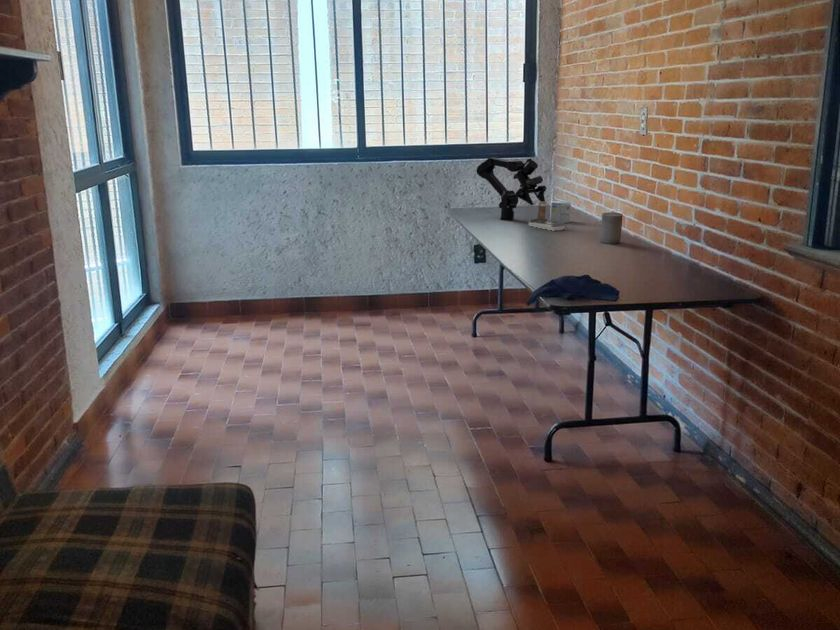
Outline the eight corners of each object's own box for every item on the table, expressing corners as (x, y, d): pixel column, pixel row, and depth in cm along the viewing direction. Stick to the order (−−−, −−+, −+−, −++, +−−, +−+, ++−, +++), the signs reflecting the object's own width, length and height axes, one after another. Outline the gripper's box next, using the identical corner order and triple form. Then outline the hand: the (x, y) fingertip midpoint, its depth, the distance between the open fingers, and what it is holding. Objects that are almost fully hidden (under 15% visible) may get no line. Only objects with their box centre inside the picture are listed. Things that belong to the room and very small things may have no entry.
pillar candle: (620, 241, 368) (623, 210, 363) (620, 244, 358) (623, 213, 354) (599, 239, 370) (602, 209, 366) (599, 243, 361) (601, 212, 356)
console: (528, 225, 401) (529, 218, 399) (540, 224, 406) (540, 217, 405) (552, 231, 388) (553, 223, 387) (564, 229, 394) (565, 222, 392)
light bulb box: (568, 220, 420) (570, 201, 417) (569, 222, 414) (571, 203, 410) (549, 219, 421) (550, 200, 418) (549, 222, 415) (551, 202, 411)
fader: (535, 221, 399) (536, 201, 396) (541, 221, 402) (543, 201, 399) (540, 222, 396) (541, 202, 393) (546, 222, 400) (548, 201, 396)
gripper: (521, 171, 392) (535, 196, 387) (545, 170, 403) (559, 193, 398) (509, 185, 400) (523, 209, 395) (533, 183, 411) (547, 206, 407)
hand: (538, 204), depth 399 cm, fingers open, 9 cm apart
